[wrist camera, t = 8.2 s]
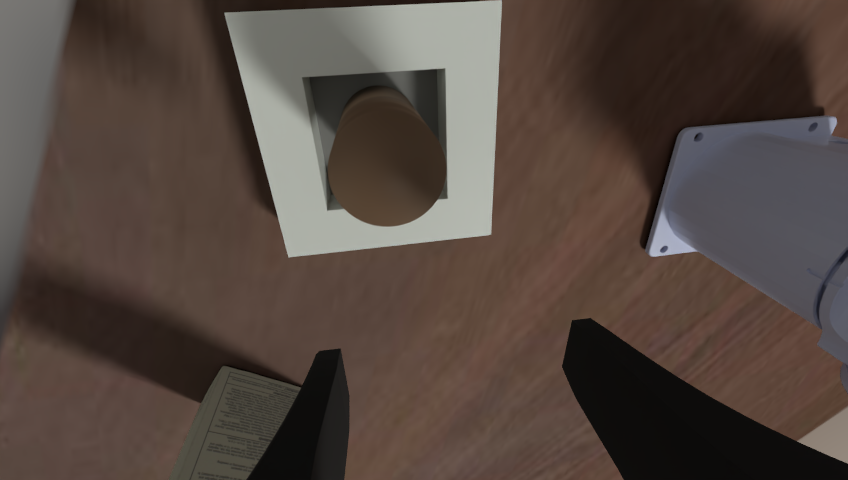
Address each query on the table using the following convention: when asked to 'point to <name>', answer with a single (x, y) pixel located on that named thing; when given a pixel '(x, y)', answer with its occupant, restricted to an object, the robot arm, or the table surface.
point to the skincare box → (233, 426)
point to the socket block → (347, 74)
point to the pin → (385, 159)
